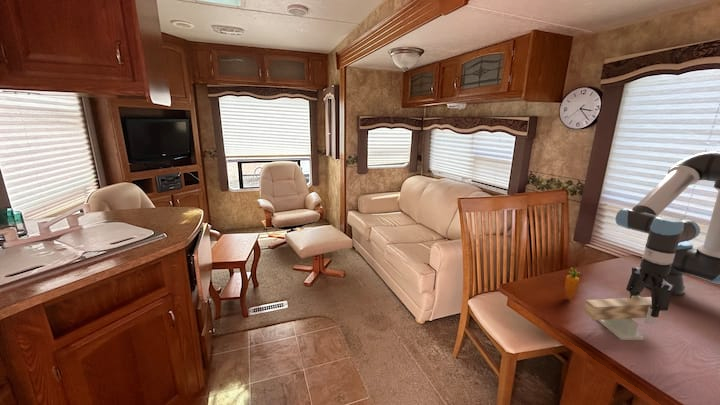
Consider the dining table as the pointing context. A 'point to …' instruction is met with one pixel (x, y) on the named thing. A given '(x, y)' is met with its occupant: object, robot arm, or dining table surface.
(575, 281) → the carrot
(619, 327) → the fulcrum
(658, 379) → the dining table surface
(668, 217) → the robot arm
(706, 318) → the dining table surface
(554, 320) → the dining table surface
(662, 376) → the dining table surface
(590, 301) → the birch bar
